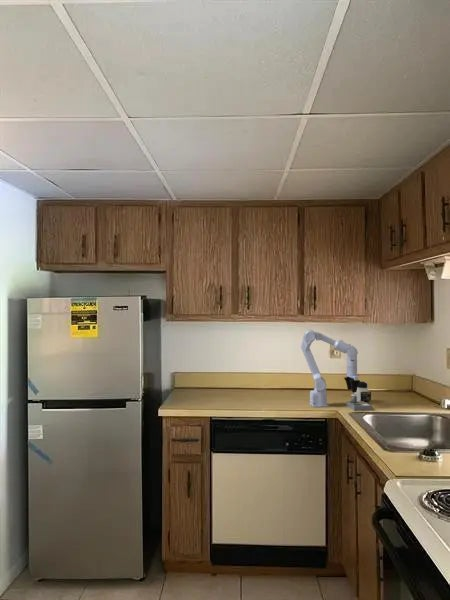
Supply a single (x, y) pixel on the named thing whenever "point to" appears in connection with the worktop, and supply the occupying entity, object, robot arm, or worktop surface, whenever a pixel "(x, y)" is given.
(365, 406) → the socket block
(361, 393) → the medicine bottle
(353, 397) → the plug
